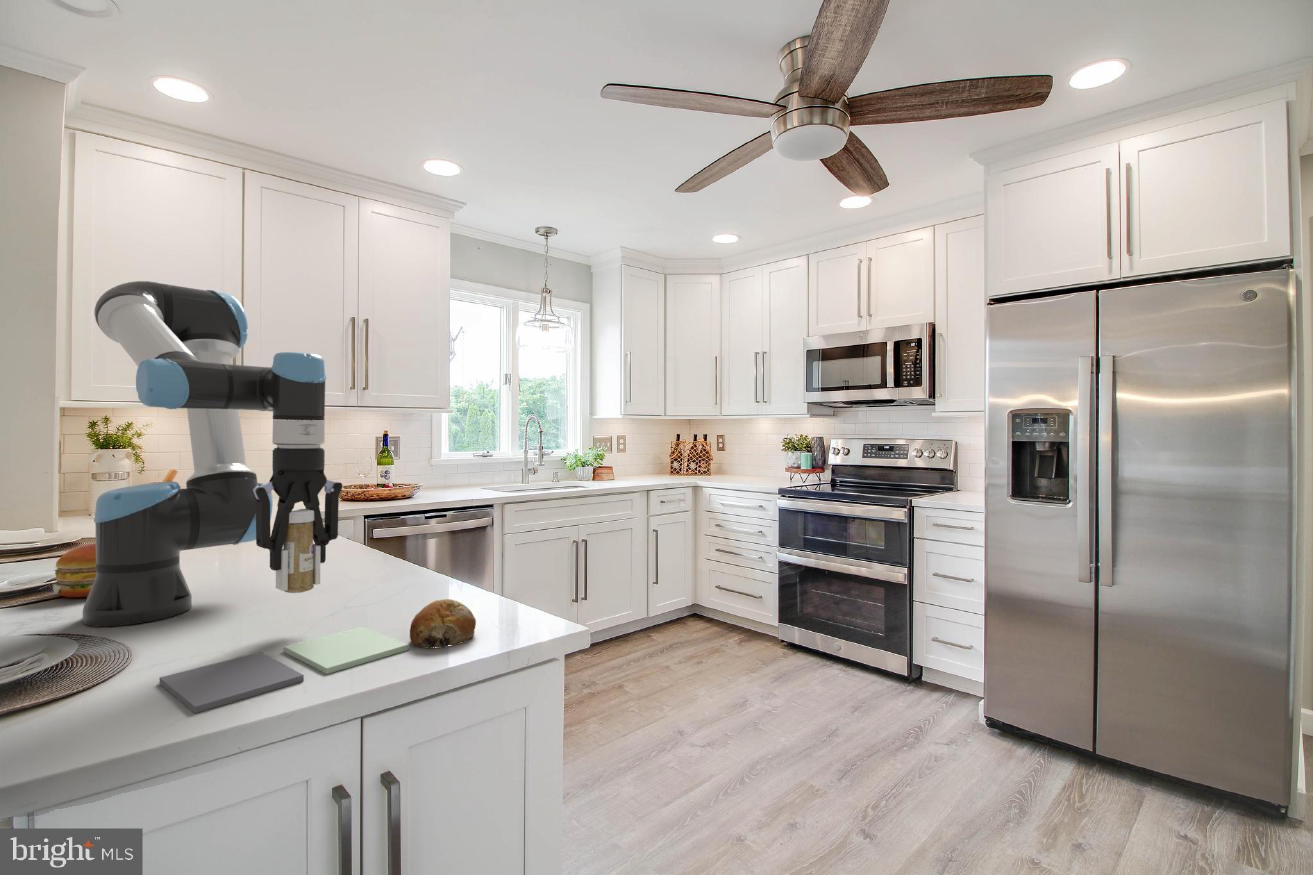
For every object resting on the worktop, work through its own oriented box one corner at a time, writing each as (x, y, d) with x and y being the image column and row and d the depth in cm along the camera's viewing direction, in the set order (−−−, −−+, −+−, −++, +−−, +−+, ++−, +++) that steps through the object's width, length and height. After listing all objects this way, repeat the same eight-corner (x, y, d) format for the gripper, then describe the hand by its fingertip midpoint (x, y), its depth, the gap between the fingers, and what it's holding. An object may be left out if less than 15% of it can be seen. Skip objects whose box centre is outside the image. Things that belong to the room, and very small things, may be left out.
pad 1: (159, 683, 82) (159, 677, 82) (261, 657, 91) (261, 651, 91) (195, 713, 73) (195, 706, 73) (303, 680, 82) (303, 674, 82)
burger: (66, 605, 118) (66, 552, 118) (41, 595, 125) (40, 546, 125) (152, 589, 130) (151, 542, 130) (124, 581, 137) (124, 536, 137)
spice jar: (315, 591, 103) (315, 510, 103) (283, 595, 101) (283, 512, 100) (312, 585, 107) (313, 507, 107) (281, 588, 105) (282, 509, 104)
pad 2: (283, 651, 93) (283, 646, 93) (362, 631, 103) (362, 626, 103) (327, 673, 85) (326, 668, 85) (408, 649, 94) (408, 644, 94)
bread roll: (481, 658, 101) (493, 608, 104) (444, 650, 92) (458, 595, 95) (430, 650, 104) (443, 602, 107) (390, 642, 95) (406, 590, 99)
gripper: (248, 448, 94) (247, 601, 95) (362, 446, 108) (361, 579, 109) (230, 446, 99) (229, 592, 99) (341, 444, 113) (340, 572, 113)
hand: (298, 585), depth 104 cm, fingers closed on spice jar, 4 cm apart
